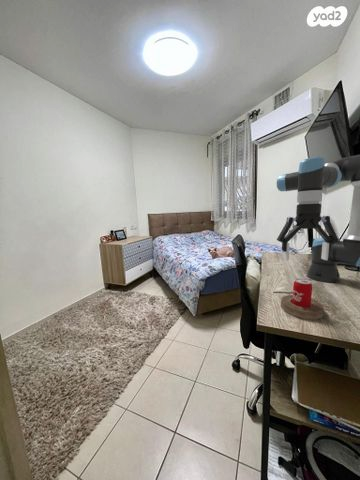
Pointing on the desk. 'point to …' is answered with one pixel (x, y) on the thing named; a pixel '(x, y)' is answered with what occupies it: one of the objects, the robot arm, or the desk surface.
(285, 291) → the lace cord
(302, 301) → the beverage can
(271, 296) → the desk surface
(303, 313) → the brown flat ring
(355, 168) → the robot arm
